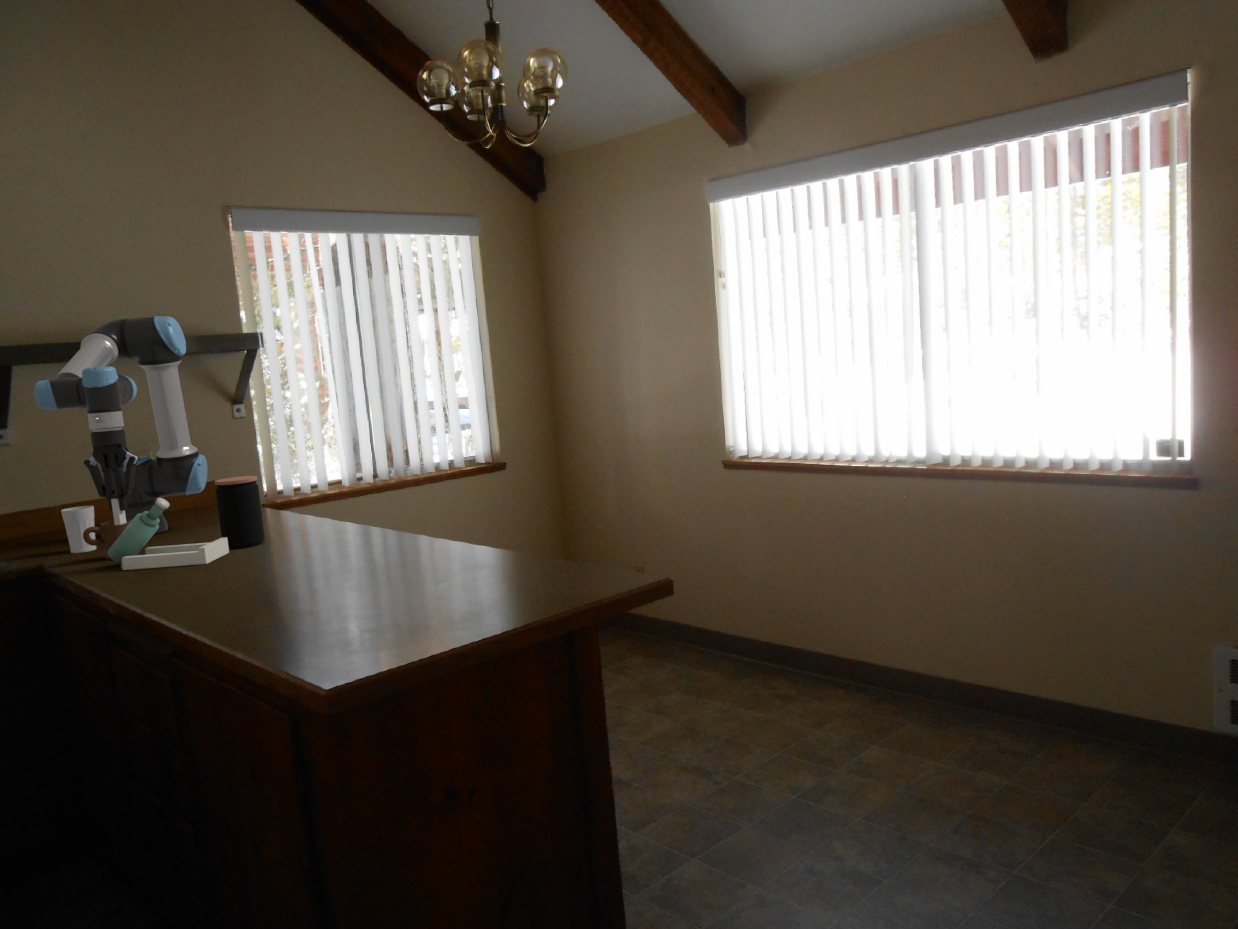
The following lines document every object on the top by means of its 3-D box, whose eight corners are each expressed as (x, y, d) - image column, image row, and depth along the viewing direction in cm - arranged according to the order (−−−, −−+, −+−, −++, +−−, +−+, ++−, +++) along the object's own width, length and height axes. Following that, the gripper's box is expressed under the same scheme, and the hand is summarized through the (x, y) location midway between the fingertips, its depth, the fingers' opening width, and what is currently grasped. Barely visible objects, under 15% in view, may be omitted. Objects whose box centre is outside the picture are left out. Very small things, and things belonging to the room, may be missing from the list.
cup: (89, 552, 255) (83, 509, 254) (61, 554, 256) (54, 511, 254) (105, 546, 263) (99, 504, 262) (78, 548, 263) (72, 507, 262)
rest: (146, 558, 239) (144, 543, 238) (229, 552, 238) (227, 537, 238) (119, 570, 226) (116, 554, 225) (206, 563, 225) (204, 547, 225)
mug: (91, 564, 236) (85, 528, 235) (82, 561, 242) (77, 526, 241) (141, 555, 245) (136, 520, 243) (132, 552, 250) (127, 518, 249)
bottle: (115, 546, 235) (160, 492, 233) (134, 562, 235) (179, 507, 233) (102, 552, 229) (147, 496, 227) (122, 567, 229) (167, 511, 227)
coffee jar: (272, 539, 252) (264, 474, 250) (253, 548, 242) (245, 480, 240) (235, 542, 253) (227, 477, 251) (214, 550, 243) (206, 482, 241)
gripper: (72, 433, 225) (86, 528, 227) (125, 428, 224) (138, 524, 227) (90, 430, 232) (103, 523, 235) (141, 426, 232) (154, 519, 234)
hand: (120, 523), depth 231 cm, fingers closed
